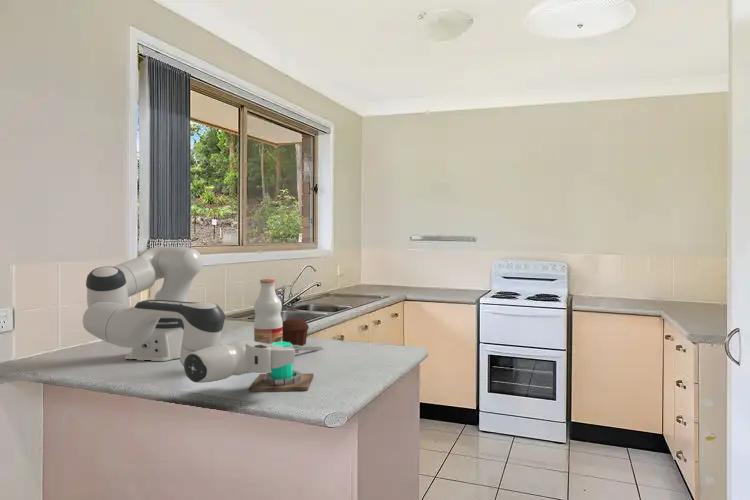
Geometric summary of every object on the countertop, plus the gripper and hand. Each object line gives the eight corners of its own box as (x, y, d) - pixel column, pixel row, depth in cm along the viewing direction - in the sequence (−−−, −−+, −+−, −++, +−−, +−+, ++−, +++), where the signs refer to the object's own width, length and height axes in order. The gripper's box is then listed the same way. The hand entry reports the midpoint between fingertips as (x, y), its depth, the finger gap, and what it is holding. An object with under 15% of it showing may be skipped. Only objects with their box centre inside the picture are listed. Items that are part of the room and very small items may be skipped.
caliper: (284, 360, 179) (284, 342, 179) (282, 360, 180) (282, 342, 179) (324, 349, 196) (323, 333, 195) (321, 349, 196) (321, 332, 196)
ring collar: (260, 385, 145) (260, 379, 145) (268, 375, 156) (268, 370, 156) (298, 385, 145) (298, 379, 145) (303, 375, 156) (303, 369, 156)
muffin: (306, 340, 212) (306, 316, 211) (311, 346, 201) (311, 320, 201) (276, 342, 208) (276, 317, 207) (280, 348, 197) (280, 322, 197)
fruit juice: (254, 360, 179) (253, 278, 178) (282, 358, 181) (281, 277, 180) (254, 367, 170) (253, 281, 169) (283, 365, 172) (282, 280, 171)
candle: (272, 377, 153) (271, 336, 152) (292, 376, 153) (292, 336, 153) (270, 383, 147) (269, 340, 146) (292, 382, 147) (291, 340, 147)
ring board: (249, 391, 143) (249, 387, 143) (260, 377, 157) (260, 374, 157) (307, 390, 143) (307, 387, 143) (313, 376, 157) (313, 373, 157)
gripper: (222, 362, 146) (261, 353, 157) (270, 373, 134) (309, 363, 145) (221, 340, 146) (260, 332, 157) (270, 349, 134) (309, 340, 144)
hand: (284, 347), depth 151 cm, fingers closed on candle, 5 cm apart
